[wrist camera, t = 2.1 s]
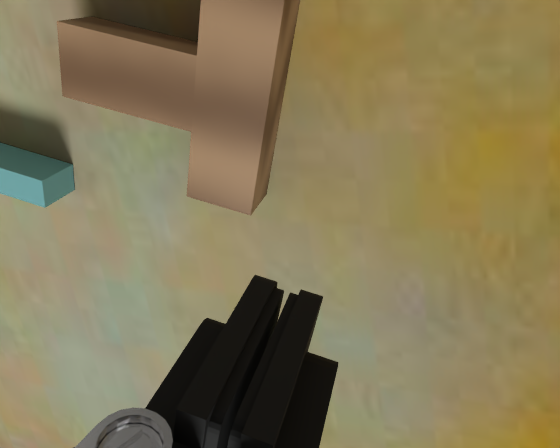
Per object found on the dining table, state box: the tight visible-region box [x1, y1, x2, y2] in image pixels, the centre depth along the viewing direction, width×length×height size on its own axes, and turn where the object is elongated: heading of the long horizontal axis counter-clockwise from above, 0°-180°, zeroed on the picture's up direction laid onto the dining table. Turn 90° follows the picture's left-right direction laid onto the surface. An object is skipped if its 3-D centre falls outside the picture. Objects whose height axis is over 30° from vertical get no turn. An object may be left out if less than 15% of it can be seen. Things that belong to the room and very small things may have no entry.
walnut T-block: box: [57, 0, 300, 215], centre depth 26 cm, size 12×12×3 cm
